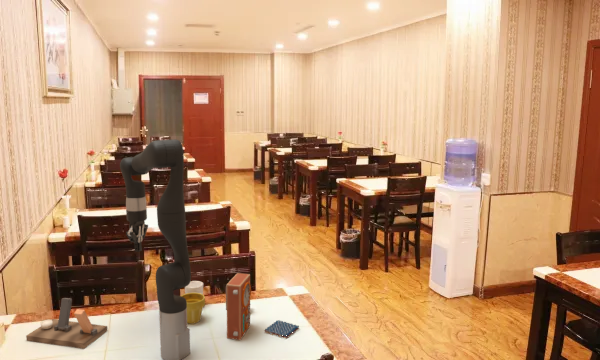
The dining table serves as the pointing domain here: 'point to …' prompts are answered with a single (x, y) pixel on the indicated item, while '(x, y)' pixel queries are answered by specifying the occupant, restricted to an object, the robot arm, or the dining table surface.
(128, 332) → the dining table surface
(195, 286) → the white cup
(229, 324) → the control panel
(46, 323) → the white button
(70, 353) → the dining table surface
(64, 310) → the long grey beam
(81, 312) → the orange block
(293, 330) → the woven mat
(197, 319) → the plant pot
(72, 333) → the switch board
